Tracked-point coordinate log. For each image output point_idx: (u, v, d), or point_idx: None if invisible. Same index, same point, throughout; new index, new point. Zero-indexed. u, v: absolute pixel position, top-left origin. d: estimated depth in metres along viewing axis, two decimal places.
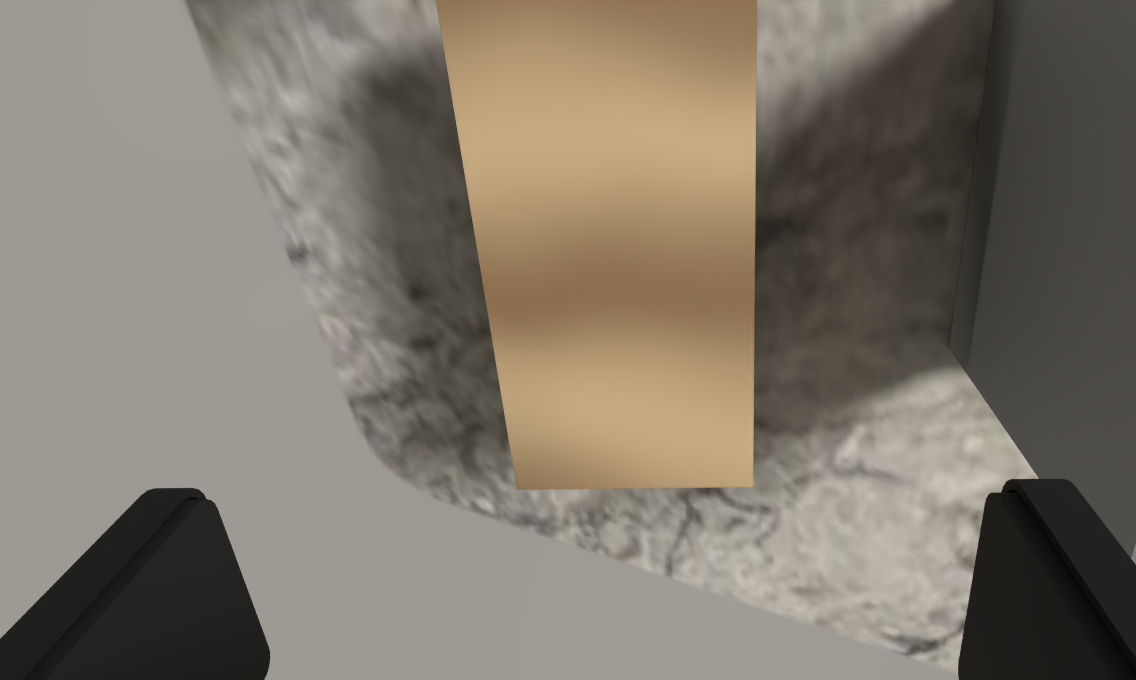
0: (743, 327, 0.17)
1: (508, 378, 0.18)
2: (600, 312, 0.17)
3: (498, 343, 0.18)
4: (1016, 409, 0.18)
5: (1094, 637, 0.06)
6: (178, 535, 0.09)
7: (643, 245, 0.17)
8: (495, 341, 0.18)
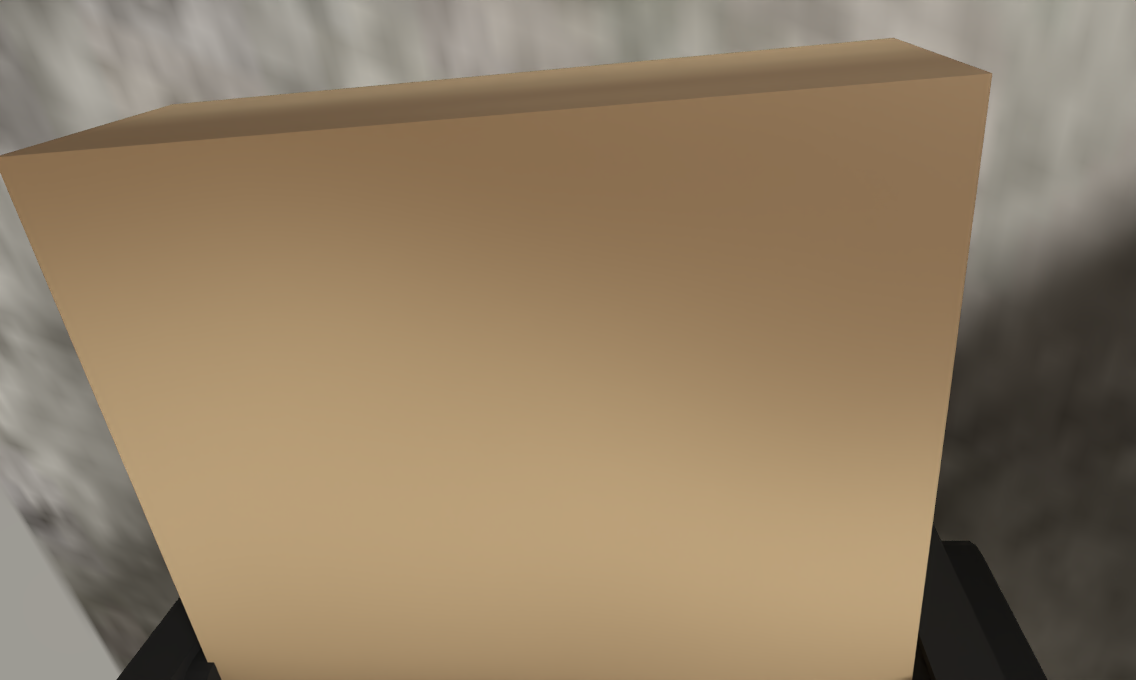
0: None
1: None
2: None
3: None
4: None
5: None
6: None
7: None
8: None
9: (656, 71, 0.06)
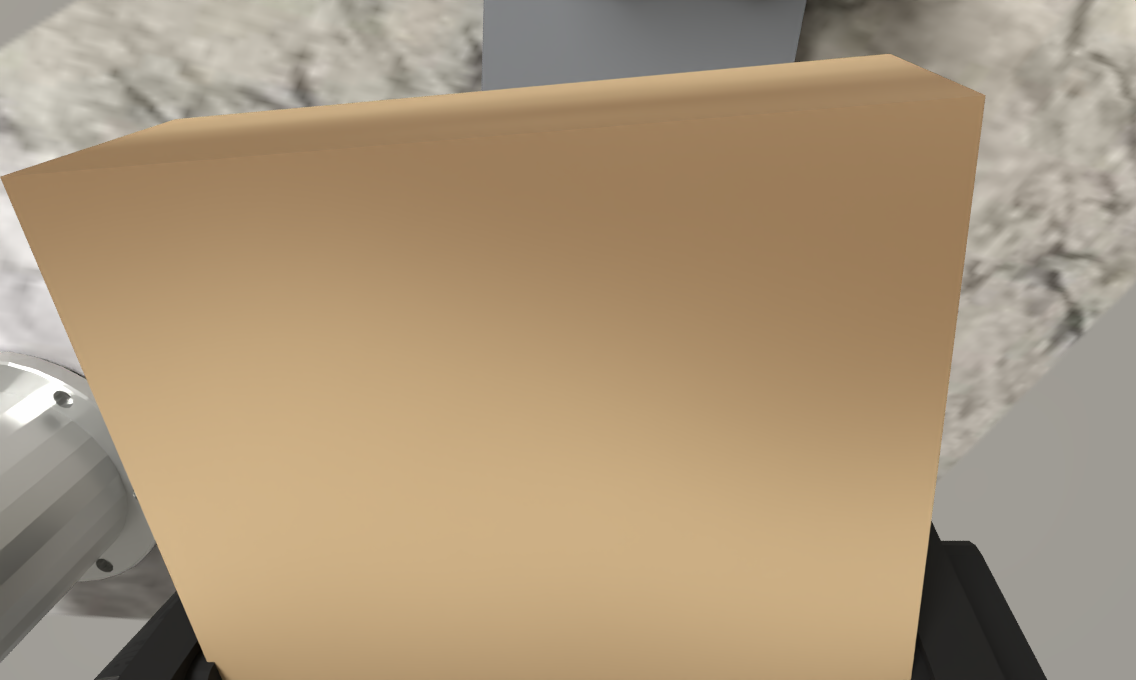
0: None
1: None
2: None
3: None
4: None
5: None
6: None
7: None
8: None
9: (654, 88, 0.06)
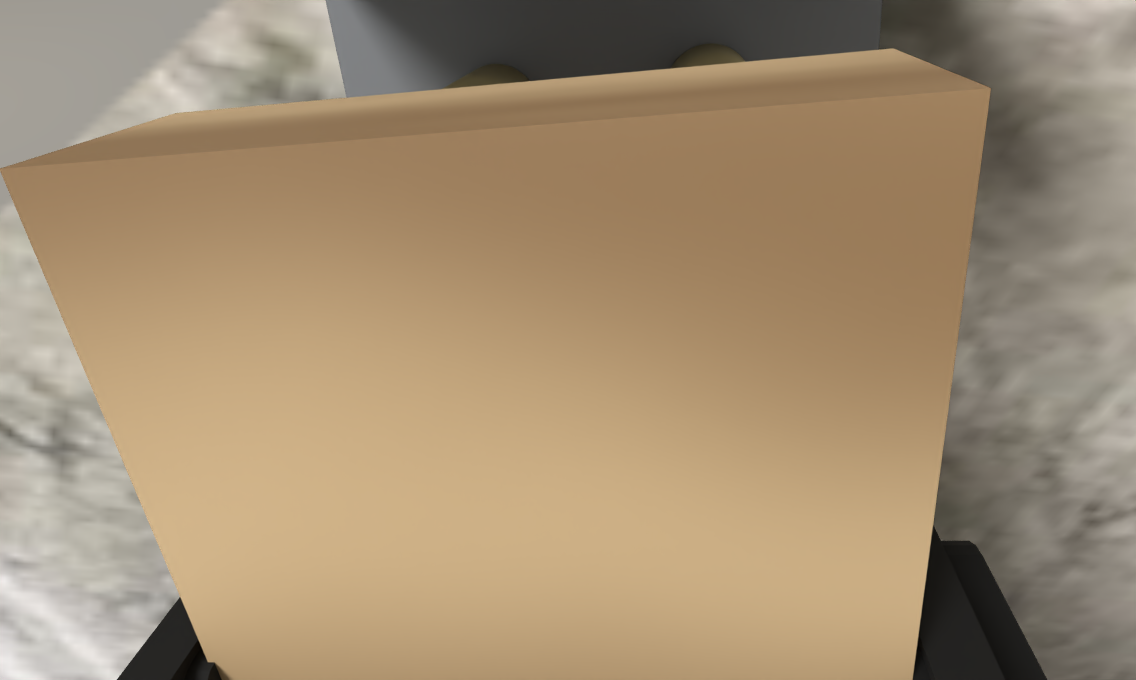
0: None
1: None
2: None
3: None
4: None
5: None
6: None
7: None
8: None
9: (657, 82, 0.06)
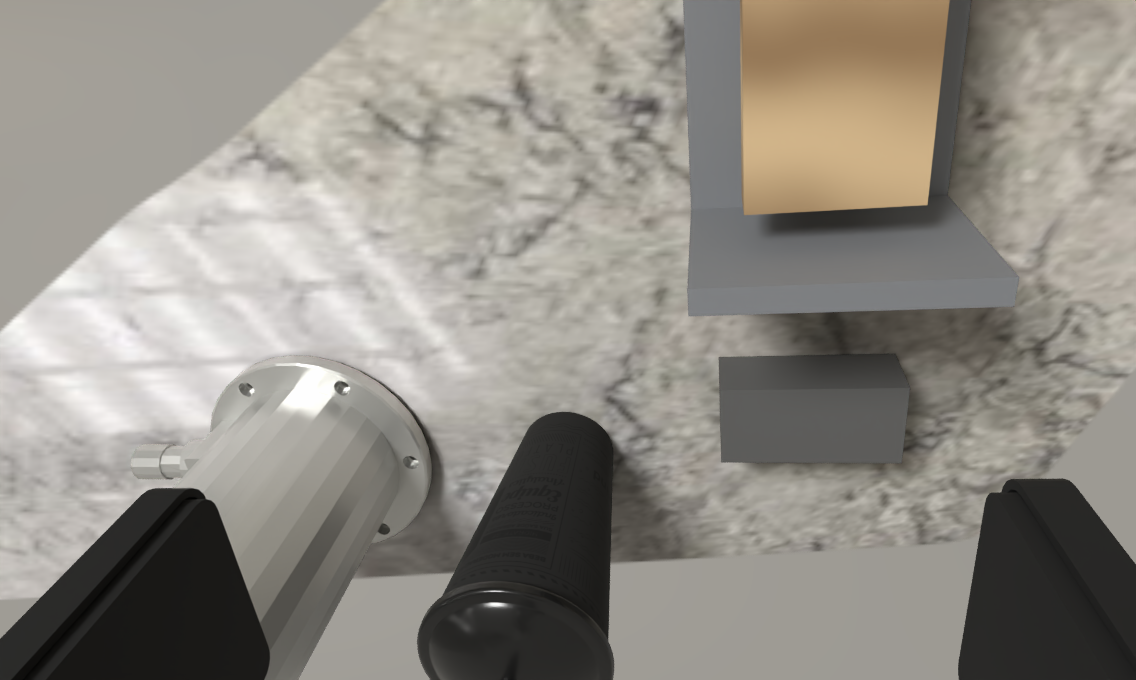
0: (933, 67, 0.24)
1: (750, 118, 0.25)
2: (827, 59, 0.24)
3: (747, 88, 0.25)
4: None
5: (1093, 637, 0.06)
6: (178, 535, 0.09)
7: (866, 1, 0.23)
8: (745, 86, 0.25)
9: None
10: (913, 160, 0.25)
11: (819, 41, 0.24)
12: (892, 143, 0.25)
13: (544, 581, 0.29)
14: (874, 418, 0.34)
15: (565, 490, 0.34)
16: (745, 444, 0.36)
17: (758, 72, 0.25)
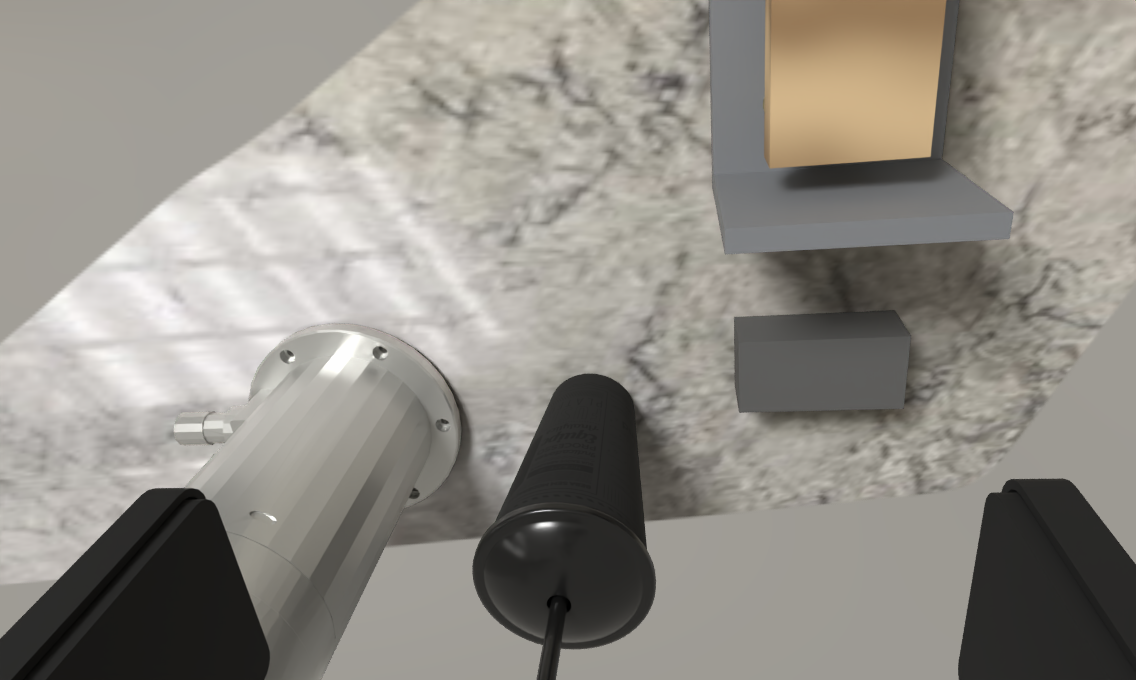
0: (935, 34, 0.28)
1: (777, 80, 0.29)
2: (844, 27, 0.28)
3: (774, 53, 0.29)
4: None
5: (1093, 637, 0.06)
6: (178, 535, 0.09)
7: None
8: (773, 51, 0.28)
9: None
10: (918, 116, 0.29)
11: (837, 11, 0.28)
12: (900, 101, 0.29)
13: (592, 504, 0.31)
14: (878, 365, 0.37)
15: (600, 435, 0.37)
16: (762, 394, 0.39)
17: (784, 39, 0.28)
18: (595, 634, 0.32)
